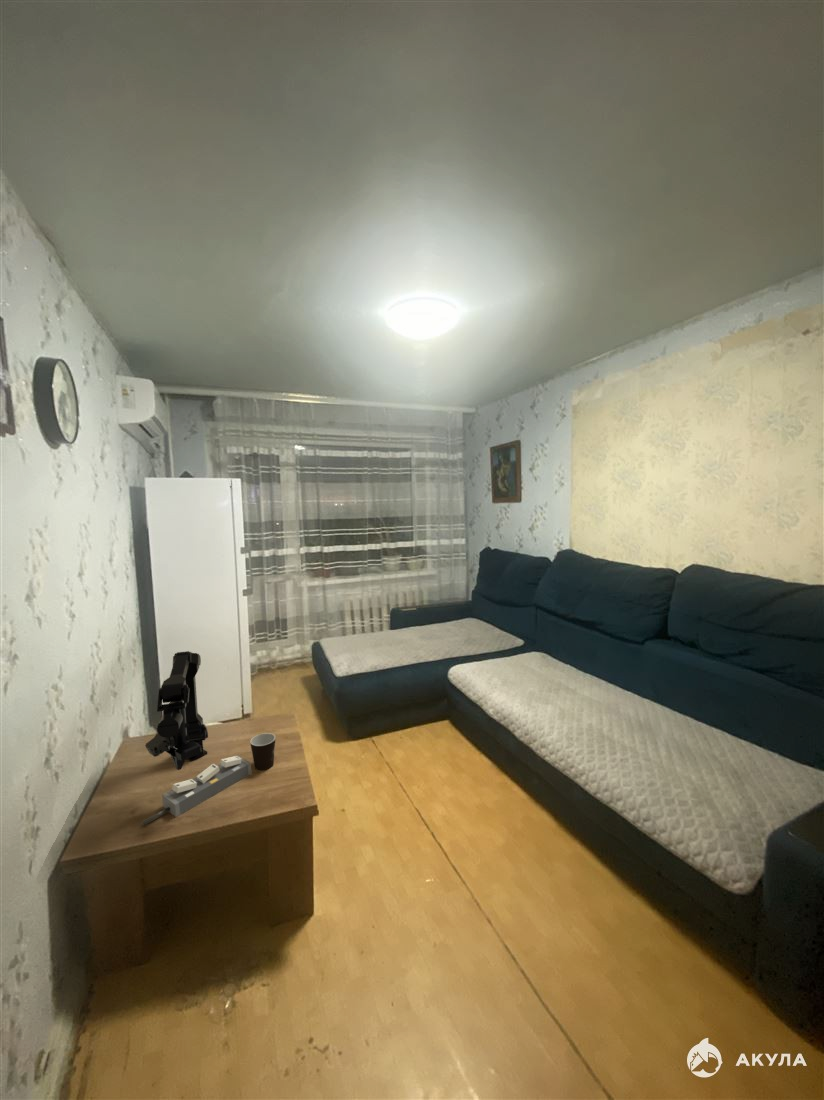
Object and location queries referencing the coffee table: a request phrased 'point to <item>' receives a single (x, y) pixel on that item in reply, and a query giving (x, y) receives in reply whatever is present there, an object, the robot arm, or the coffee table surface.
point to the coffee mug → (263, 751)
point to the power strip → (202, 790)
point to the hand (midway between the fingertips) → (179, 769)
